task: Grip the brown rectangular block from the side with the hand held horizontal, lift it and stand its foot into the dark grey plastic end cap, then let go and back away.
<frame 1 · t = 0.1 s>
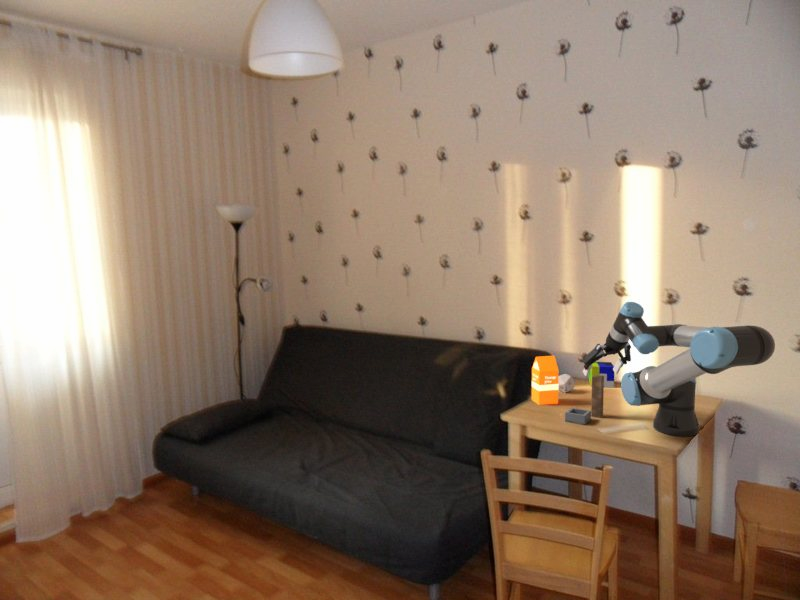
hand: (599, 372, 229), 15 cm above the table, tool tilted 35°, fingers open, 13 cm apart
puzzle toy: (601, 385, 267), on the table
crumpled paper ball: (565, 391, 257), on the table
brown rectangular block: (597, 415, 222), on the table
orange juice: (544, 402, 242), on the table
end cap: (578, 420, 217), on the table
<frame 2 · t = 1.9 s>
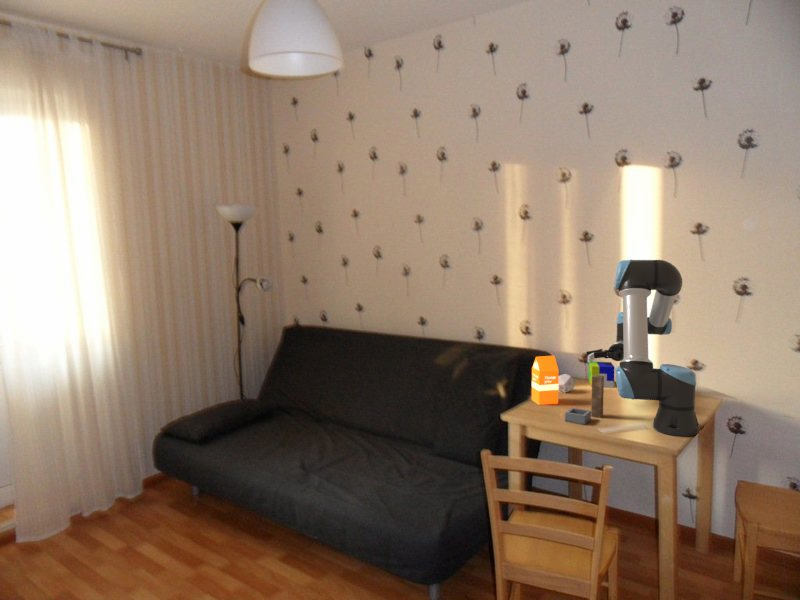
hand: (605, 361, 227), 20 cm above the table, tool horizontal, fingers open, 13 cm apart
nothing on the table moved.
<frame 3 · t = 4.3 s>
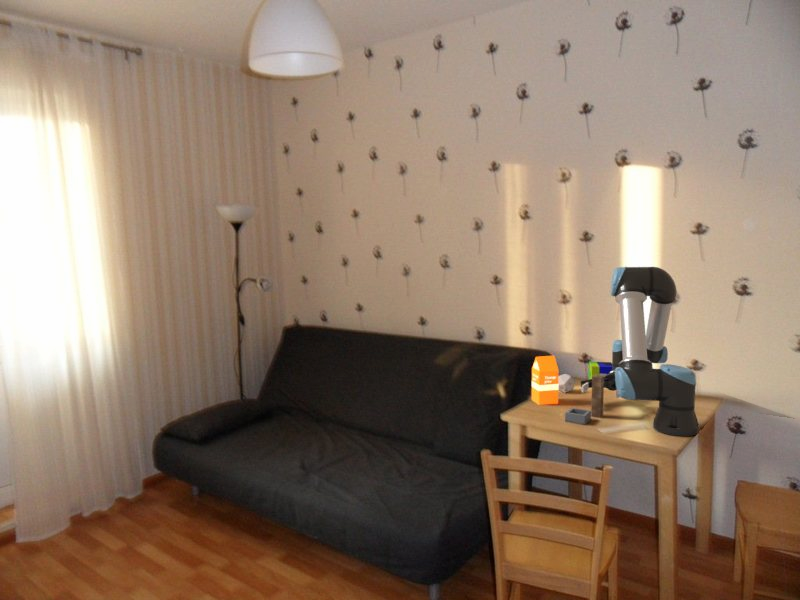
hand: (599, 391, 224), 9 cm above the table, tool horizontal, fingers open, 13 cm apart
nothing on the table moved.
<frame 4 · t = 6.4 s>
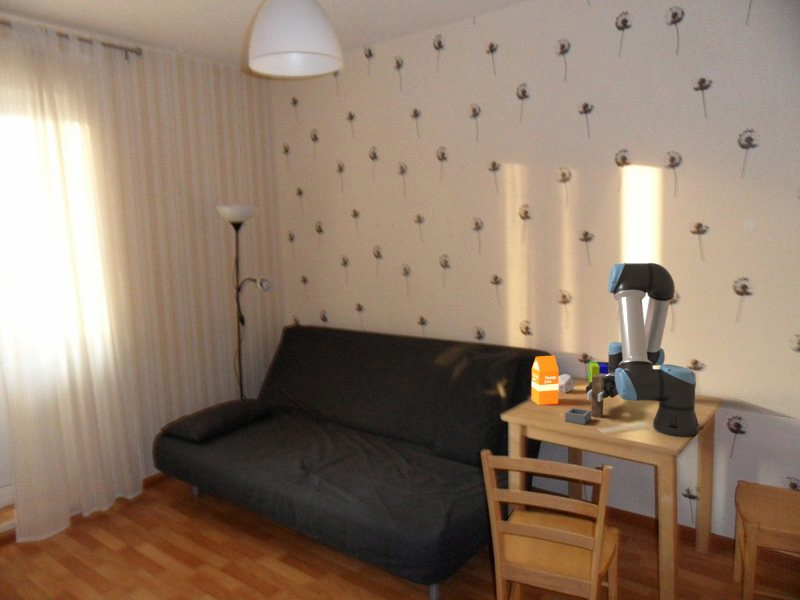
hand: (593, 397, 216), 9 cm above the table, tool horizontal, fingers closed on brown rectangular block, 3 cm apart
brown rectangular block: (597, 415, 222), on the table, touching gripper
everything else where it was.
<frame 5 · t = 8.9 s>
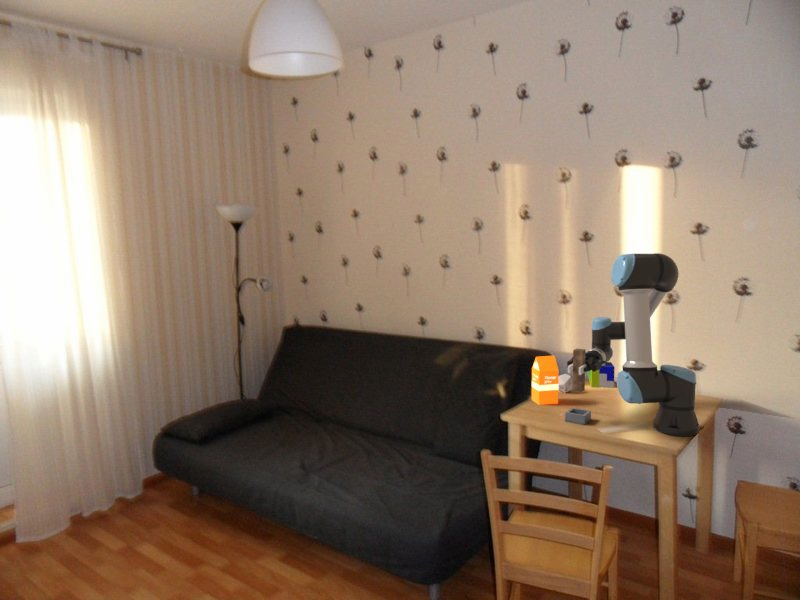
hand: (574, 370, 210), 21 cm above the table, tool horizontal, fingers closed on brown rectangular block, 3 cm apart
brown rectangular block: (578, 390, 215), point 12 cm above the table, touching gripper
everything else where it was.
when the fingers open (11 cm above the table, at t = 11.3 s): brown rectangular block drops 1 cm, resting on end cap.
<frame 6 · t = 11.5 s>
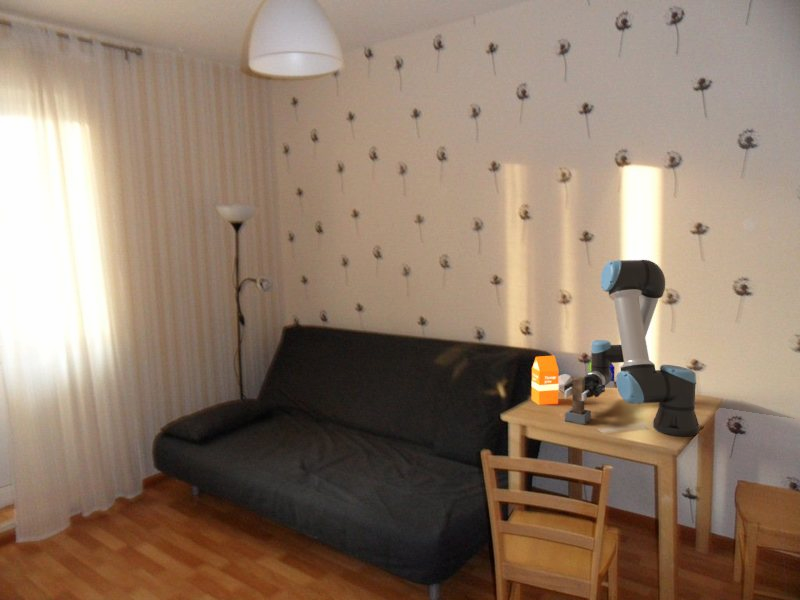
hand: (574, 395, 211), 11 cm above the table, tool horizontal, fingers open, 6 cm apart
brown rectangular block: (578, 419, 217), resting on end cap
everything else where it was.
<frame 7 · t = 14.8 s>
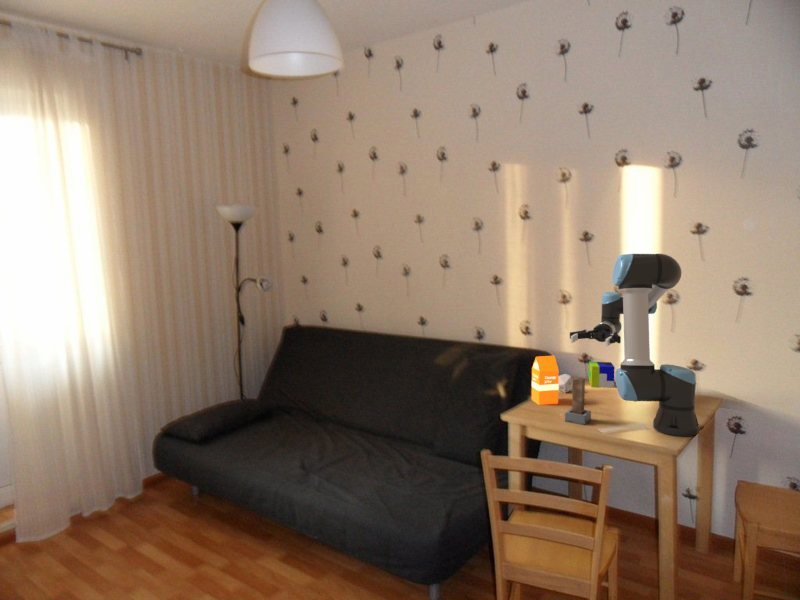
hand: (588, 341, 221), 30 cm above the table, tool horizontal, fingers open, 13 cm apart
nothing on the table moved.
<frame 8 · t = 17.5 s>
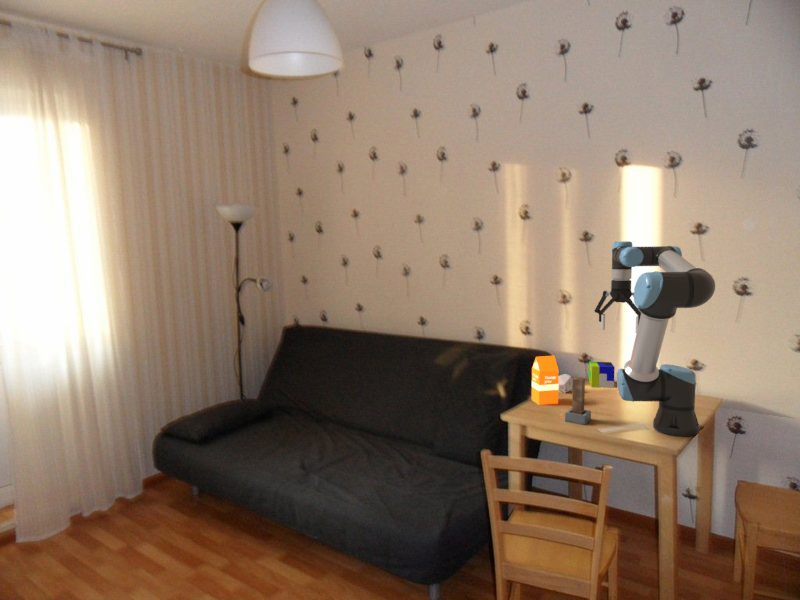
hand: (619, 331, 230), 32 cm above the table, tool pointing down, fingers open, 13 cm apart
nothing on the table moved.
at the end: brown rectangular block 0.0 cm off-centre on the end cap, point 0.5 cm above the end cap's base; brown rectangular block tilted 0°; the gripper is holding nothing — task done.
